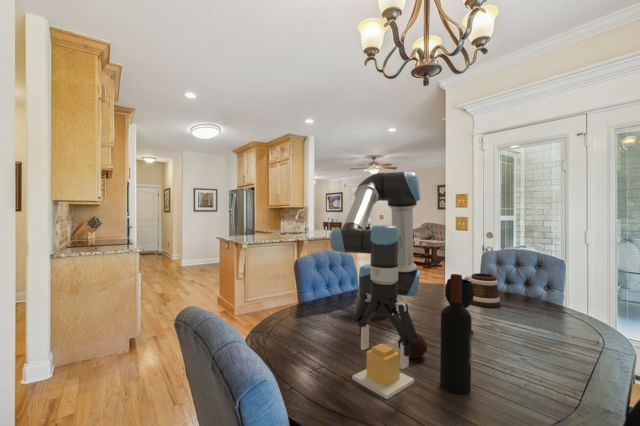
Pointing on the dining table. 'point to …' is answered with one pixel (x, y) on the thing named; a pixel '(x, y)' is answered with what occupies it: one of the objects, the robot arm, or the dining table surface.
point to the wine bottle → (455, 343)
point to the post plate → (381, 390)
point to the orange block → (383, 364)
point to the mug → (484, 290)
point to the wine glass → (466, 293)
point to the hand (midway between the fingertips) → (383, 357)
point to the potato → (416, 347)
